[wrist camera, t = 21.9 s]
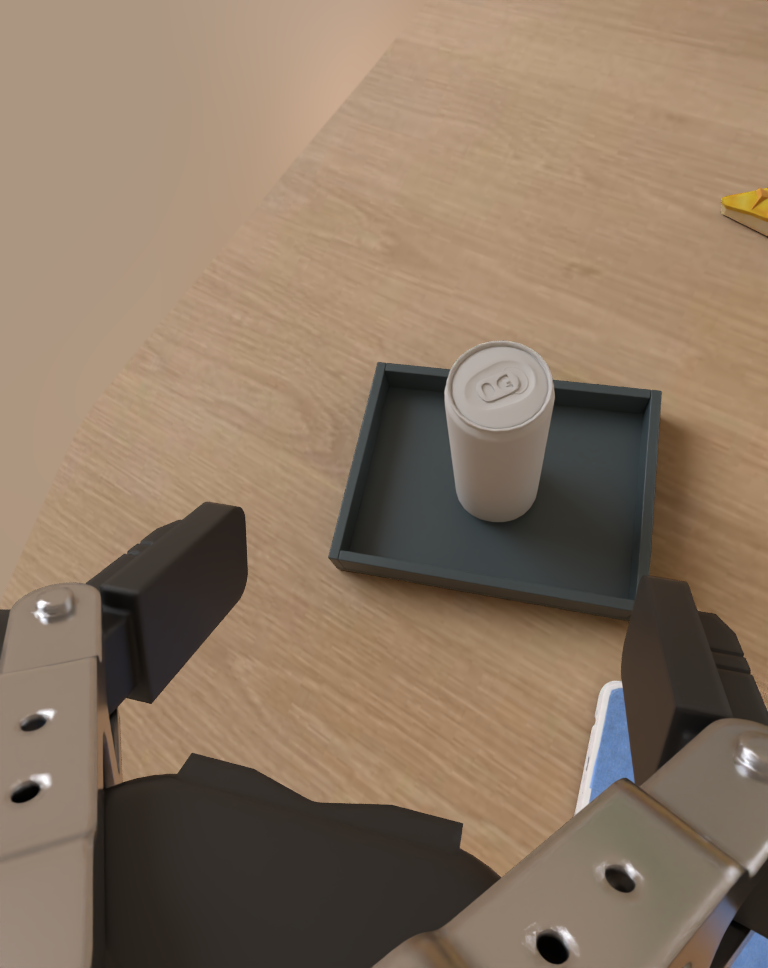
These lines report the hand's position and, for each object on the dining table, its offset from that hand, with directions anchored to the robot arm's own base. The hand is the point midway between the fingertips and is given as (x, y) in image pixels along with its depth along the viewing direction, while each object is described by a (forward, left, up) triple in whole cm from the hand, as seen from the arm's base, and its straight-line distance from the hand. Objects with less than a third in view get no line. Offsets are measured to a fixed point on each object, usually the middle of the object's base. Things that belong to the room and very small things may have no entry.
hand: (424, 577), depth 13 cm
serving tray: (0, +12, -24) cm, 27 cm away
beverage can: (0, +12, -24) cm, 26 cm away
